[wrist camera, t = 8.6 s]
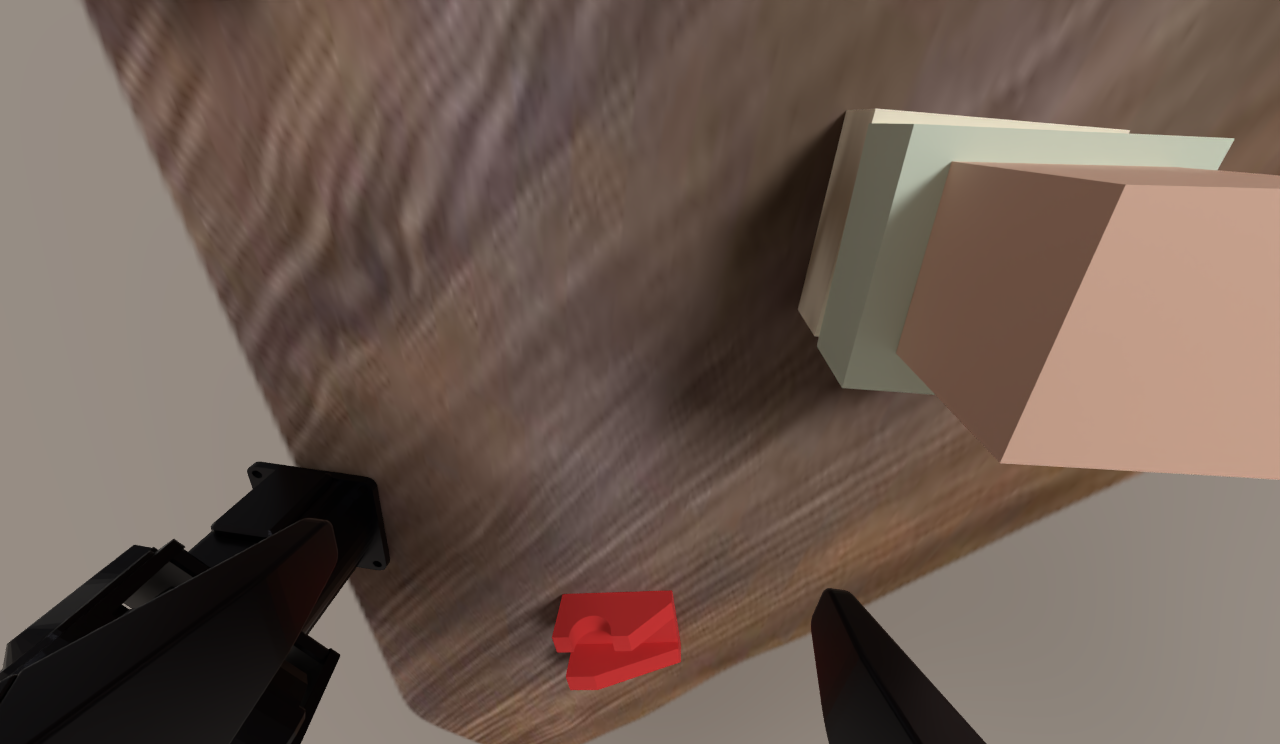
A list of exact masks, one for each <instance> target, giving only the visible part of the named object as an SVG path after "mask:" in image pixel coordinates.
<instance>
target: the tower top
mask: <svg viewBox="0 0 1280 744" xmlns="http://www.w3.org/2000/svg"><path fill="white" fill-rule="evenodd" d="M1233 141H1234V138H1212V137H1190V136H1168V135H1147V134H1125V133H1103V132H1081V131H1060V130H1038V129H1016V128H994V127H973V126H951V125H929V124H891V123H869V125H868V129H867V134H866V138H865V142H864V146H863V151H862V155H861V159H860V163H859V168H858V172H857V176H856V181H855V185H854V189H853V193H852V198H851V202H850V206H849V211H848V215H847V219H846V223H845V228H844V232H843V236H842V240H841V245H840V249H839V253H838V258H837V262H836V266H835V270H834V275H833V279H832V283H831V288H830V292H829V296H828V300H827V305H826V309H825V313H824V318H823V322H822V326H821V330H820V335H819V339H818V343H817V348H818V349H819V351H820V352H821V354H822V356H823V357H824V359H825V361H826V362H827V364H828V366H829V367H830V369H831V371H832V372H833V374H834V376H835V377H836V379H837V381H838V382H839V384H840V385H841V387H842V388H848V389H862V390H876V391H891V392H905V393H919V394H933V395H935V394H934V393H933V392H932V391H931V390H930V389H929V388H928V387H927V386H926V384H925V383H924V382H923V381H922V380H921V379H920V378H919V377H918V376H917V375H916V374H915V373H914V372H913V371H912V370H911V369H910V368H909V367H908V365H907V364H906V363H905V362H904V361H903V360H902V359H901V358H900V357H899V356H898V355H897V354H896V351H897V348H898V344H899V341H900V337H901V334H902V330H903V327H904V324H905V320H906V317H907V313H908V310H909V306H910V303H911V299H912V296H913V293H914V289H915V286H916V282H917V279H918V275H919V272H920V268H921V265H922V262H923V258H924V255H925V251H926V248H927V244H928V241H929V237H930V234H931V231H932V227H933V224H934V220H935V217H936V213H937V210H938V206H939V203H940V200H941V196H942V193H943V189H944V186H945V182H946V179H947V175H948V172H949V169H950V165H951V162H952V161H956V162H997V163H1037V164H1077V165H1118V166H1158V167H1183V168H1194V169H1206V170H1218V168H1219V166H1220V164H1221V162H1222V161H1223V159H1224V157H1225V155H1226V153H1227V152H1228V150H1229V148H1230V146H1231V144H1232V143H1233Z"/></svg>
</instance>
